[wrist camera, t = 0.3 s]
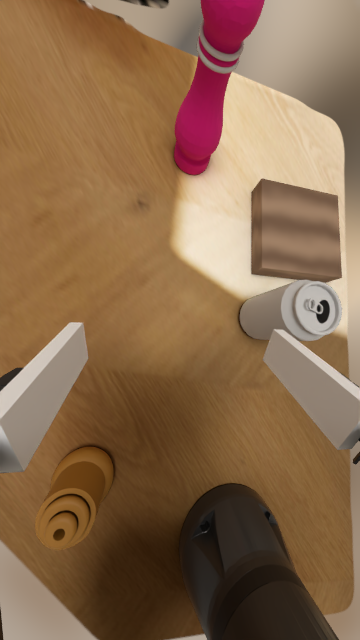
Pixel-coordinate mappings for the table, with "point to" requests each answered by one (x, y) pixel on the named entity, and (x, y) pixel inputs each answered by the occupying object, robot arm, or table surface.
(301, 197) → the walnut plinth
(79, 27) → the table surface
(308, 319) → the can
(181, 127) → the pepper mill
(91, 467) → the ornamental finial
